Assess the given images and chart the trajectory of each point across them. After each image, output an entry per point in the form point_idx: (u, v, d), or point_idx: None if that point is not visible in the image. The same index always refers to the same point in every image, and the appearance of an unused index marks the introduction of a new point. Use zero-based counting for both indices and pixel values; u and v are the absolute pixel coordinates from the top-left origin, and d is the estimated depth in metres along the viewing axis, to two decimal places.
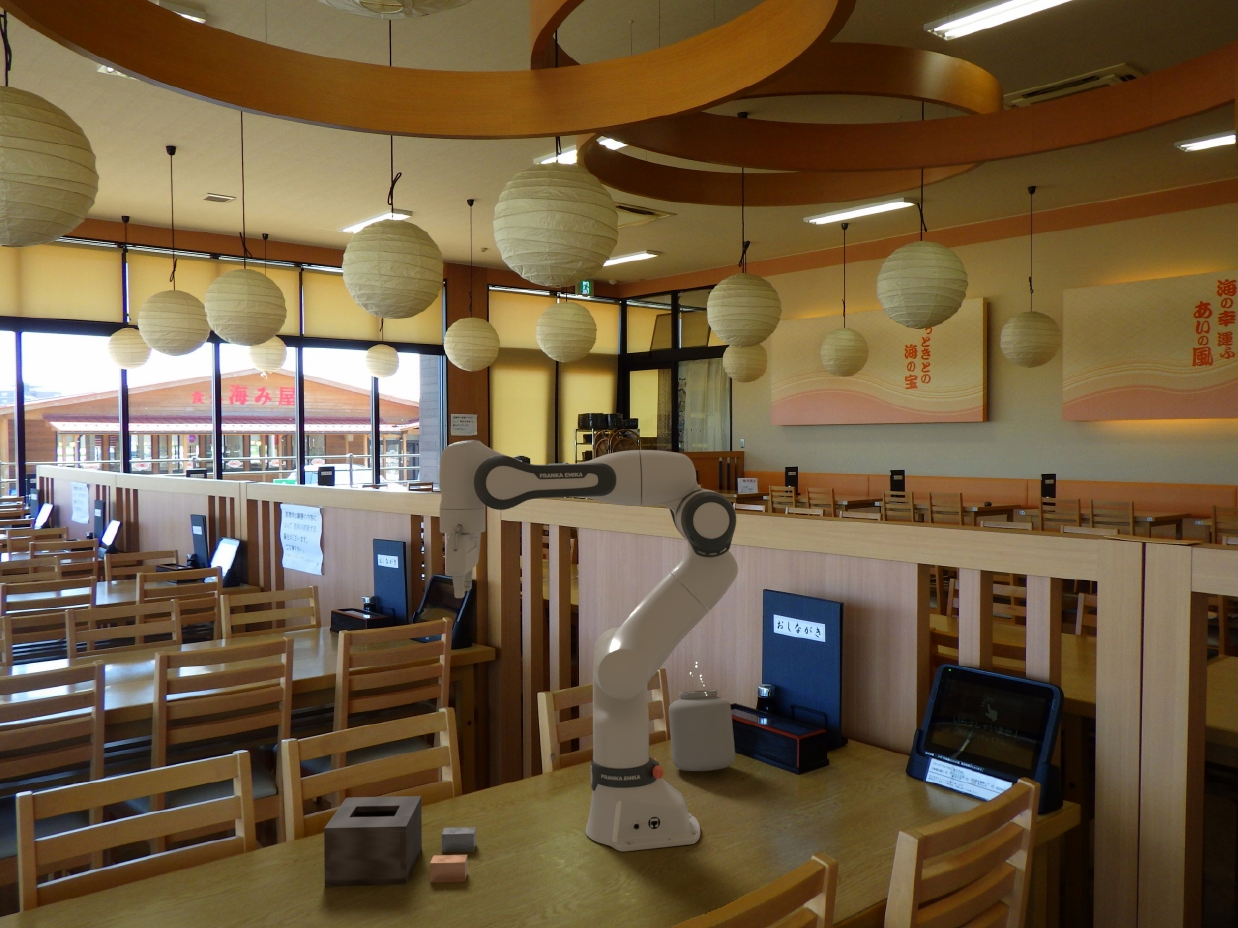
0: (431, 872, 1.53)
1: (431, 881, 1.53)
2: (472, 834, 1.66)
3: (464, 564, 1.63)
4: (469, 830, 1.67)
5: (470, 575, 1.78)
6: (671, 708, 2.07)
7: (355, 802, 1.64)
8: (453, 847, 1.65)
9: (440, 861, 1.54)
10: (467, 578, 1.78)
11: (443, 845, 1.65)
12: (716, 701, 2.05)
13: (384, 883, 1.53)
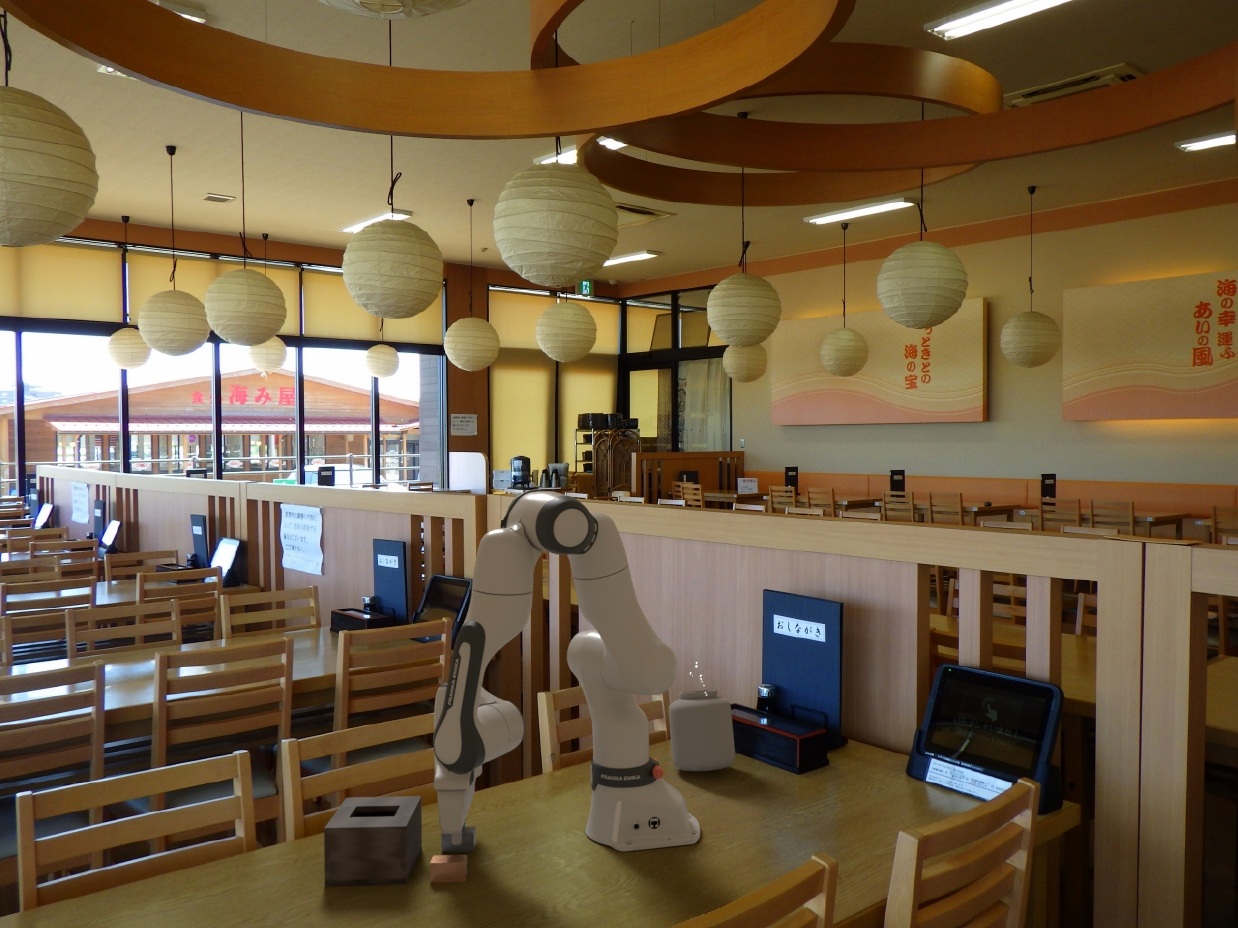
0: (431, 872, 1.53)
1: (431, 881, 1.53)
2: (472, 833, 1.66)
3: None
4: (469, 829, 1.67)
5: None
6: (671, 708, 2.07)
7: (355, 802, 1.64)
8: (452, 846, 1.65)
9: (440, 861, 1.54)
10: None
11: (443, 844, 1.65)
12: (716, 701, 2.05)
13: (384, 883, 1.53)
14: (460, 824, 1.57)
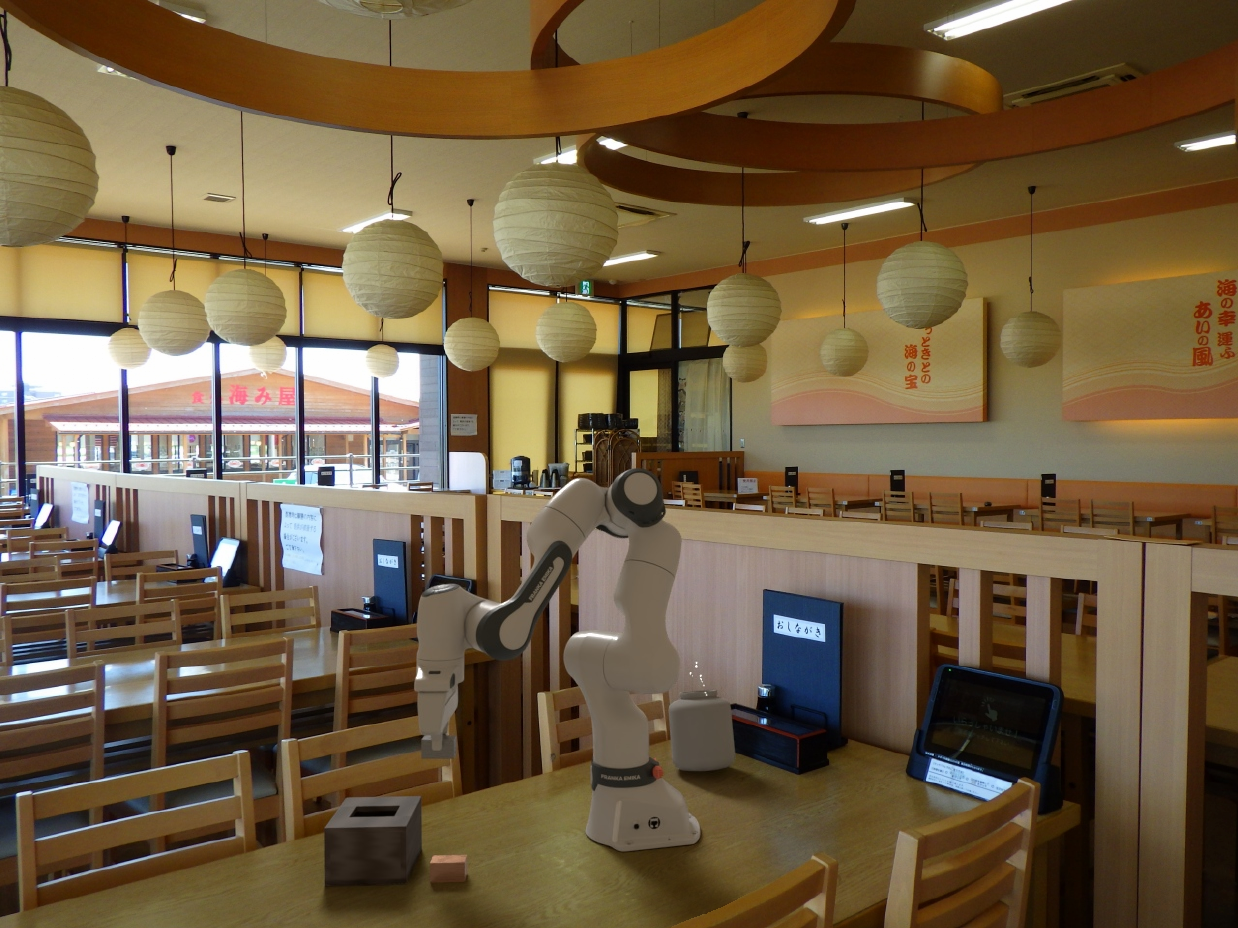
0: (431, 872, 1.53)
1: (431, 881, 1.53)
2: (452, 740, 1.64)
3: None
4: (449, 737, 1.66)
5: None
6: (671, 708, 2.07)
7: (355, 802, 1.64)
8: (432, 753, 1.64)
9: (440, 861, 1.54)
10: None
11: (423, 751, 1.64)
12: (716, 701, 2.05)
13: (384, 883, 1.53)
14: (439, 725, 1.56)
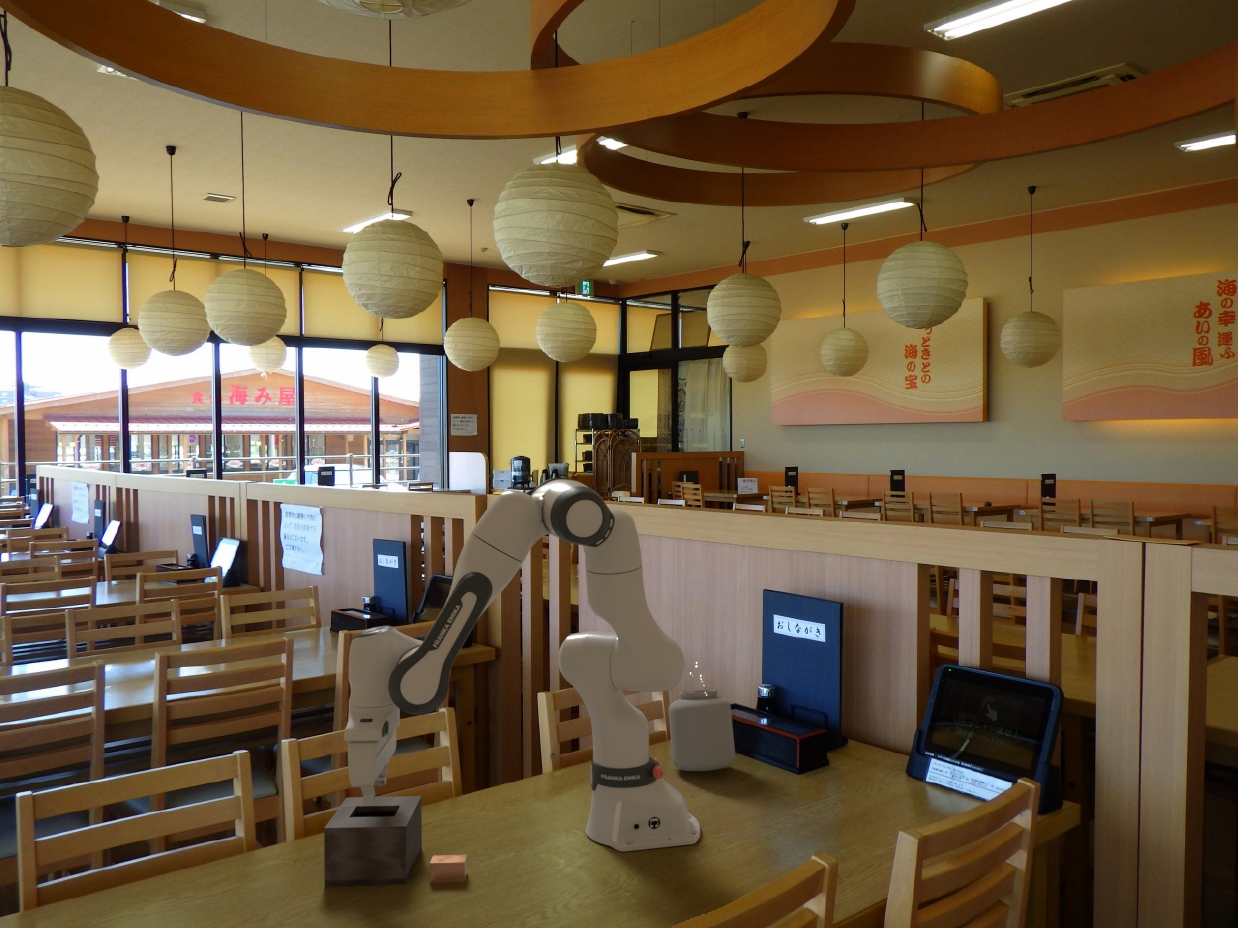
0: (431, 872, 1.53)
1: (431, 881, 1.53)
2: None
3: None
4: None
5: None
6: (671, 708, 2.07)
7: (355, 802, 1.64)
8: None
9: (440, 861, 1.54)
10: None
11: None
12: (716, 701, 2.05)
13: (384, 883, 1.53)
14: (371, 777, 1.50)
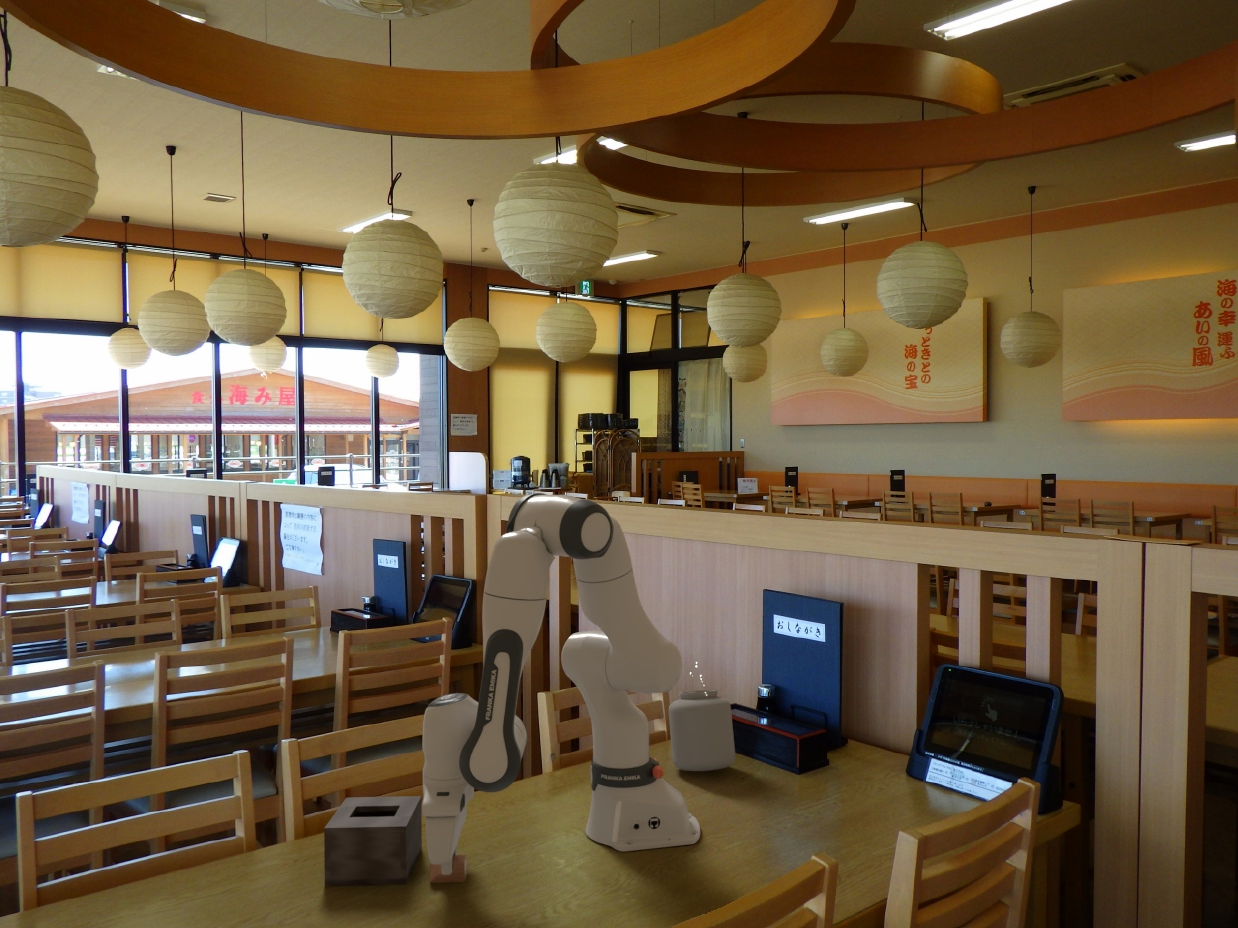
0: (430, 872, 1.53)
1: (430, 881, 1.53)
2: None
3: None
4: None
5: None
6: (671, 708, 2.07)
7: (355, 802, 1.64)
8: None
9: None
10: None
11: None
12: (716, 701, 2.05)
13: (384, 883, 1.53)
14: (450, 854, 1.45)
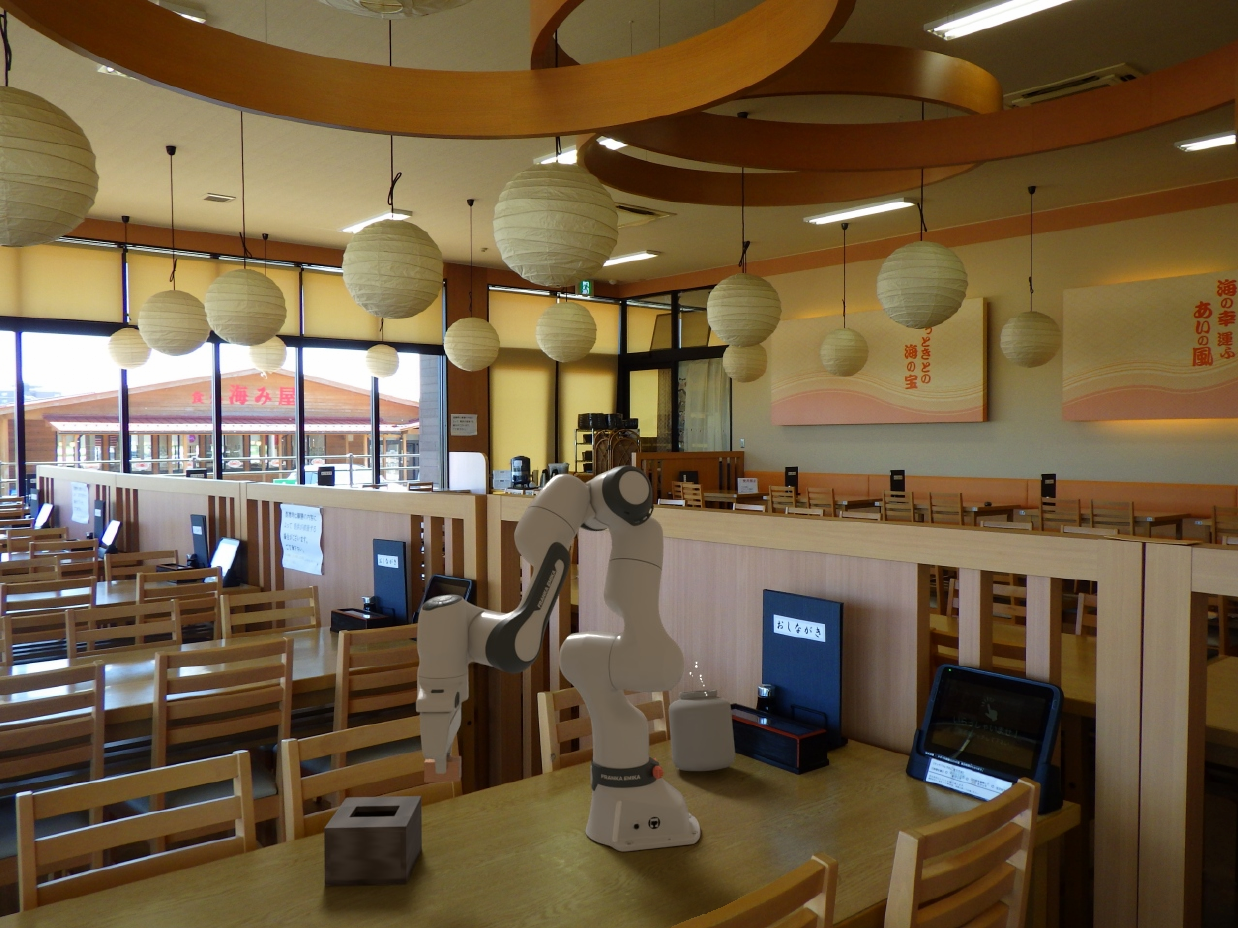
0: (425, 771, 1.54)
1: (425, 780, 1.54)
2: None
3: None
4: None
5: None
6: (671, 708, 2.07)
7: (355, 802, 1.64)
8: None
9: (434, 761, 1.54)
10: None
11: None
12: (716, 701, 2.05)
13: (384, 883, 1.53)
14: (444, 748, 1.45)
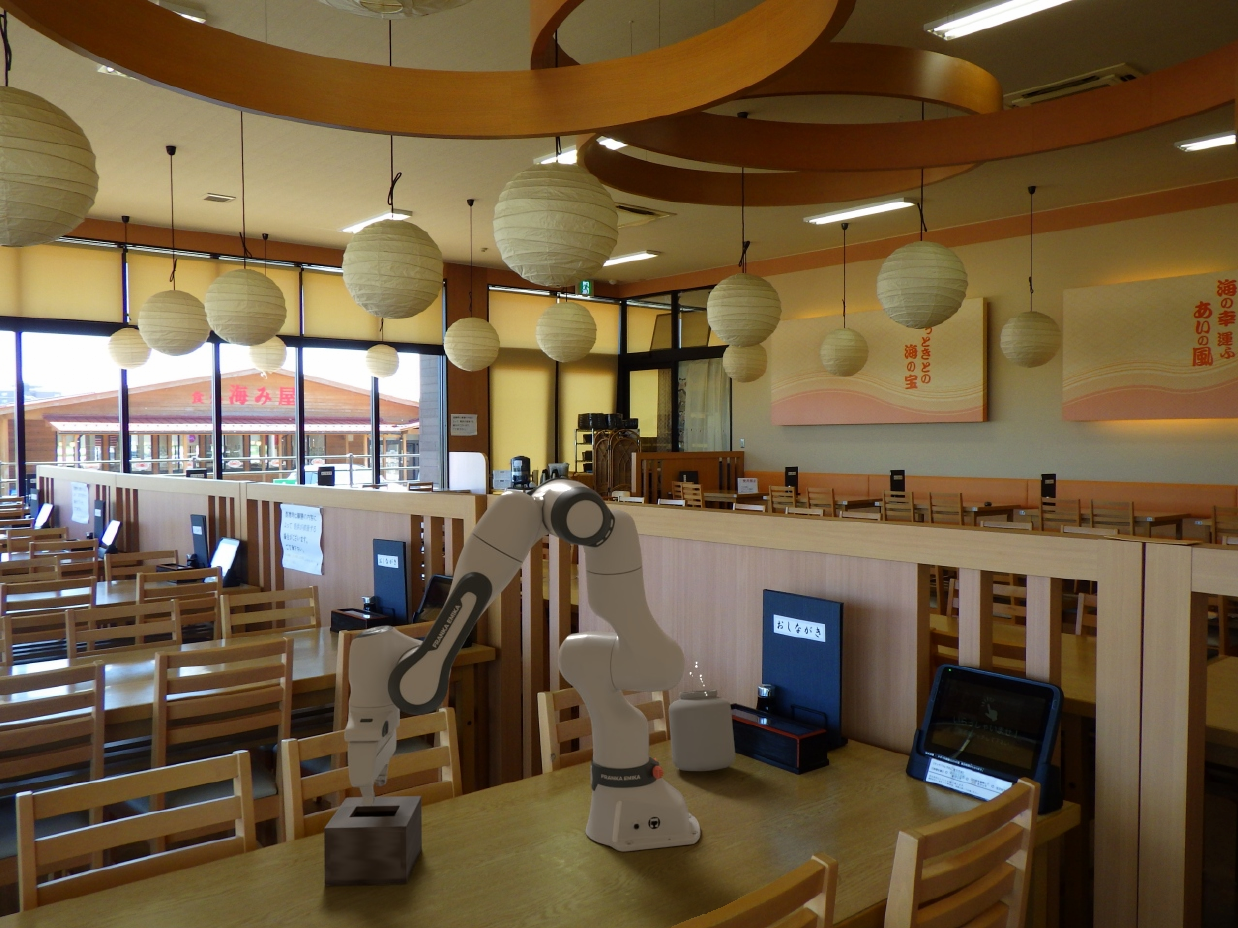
0: None
1: None
2: None
3: None
4: None
5: None
6: (671, 708, 2.07)
7: (355, 802, 1.64)
8: None
9: None
10: None
11: None
12: (716, 701, 2.05)
13: (384, 883, 1.53)
14: (371, 777, 1.50)
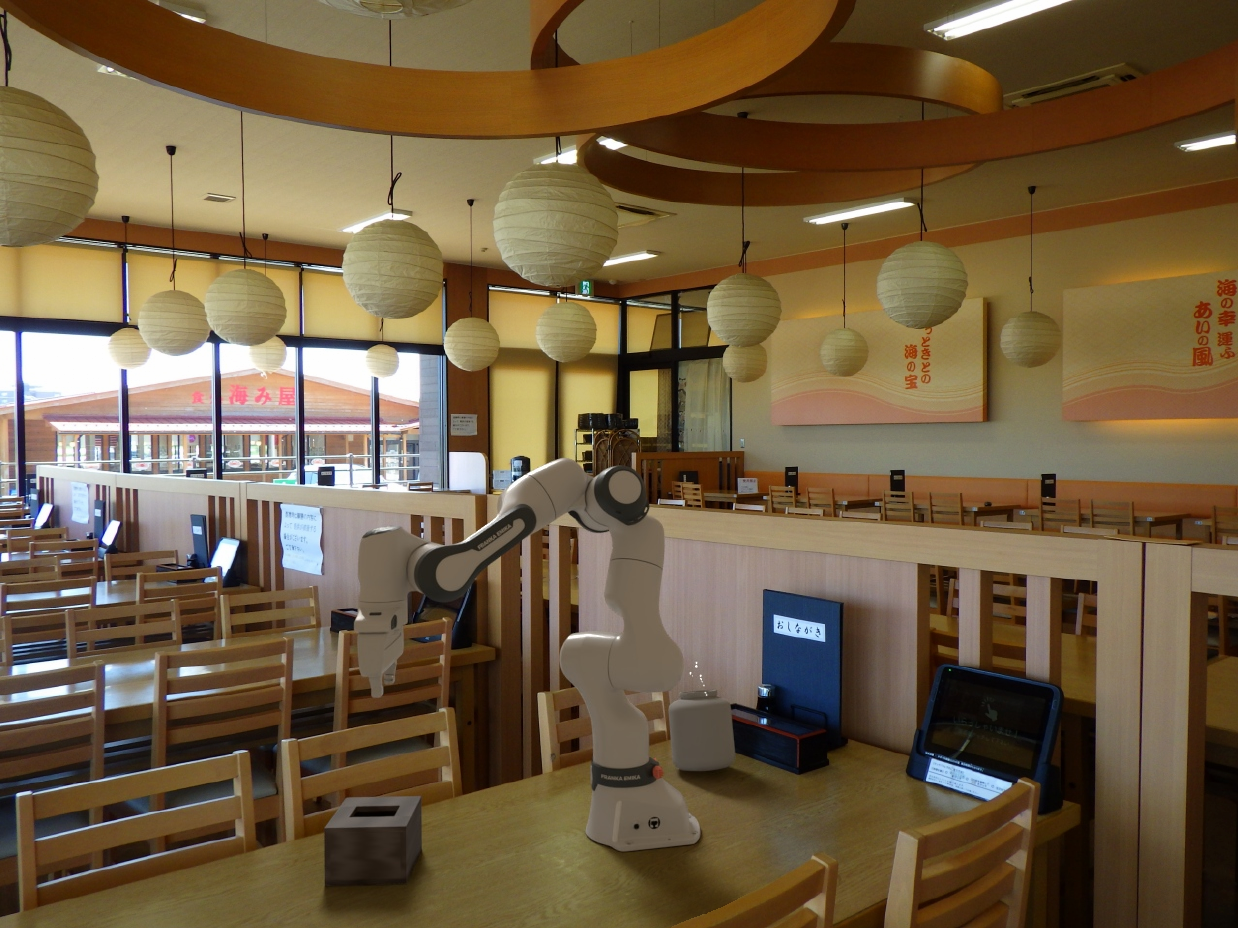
0: None
1: None
2: None
3: None
4: None
5: None
6: (671, 708, 2.07)
7: (355, 802, 1.64)
8: None
9: None
10: None
11: None
12: (716, 701, 2.05)
13: (384, 883, 1.53)
14: (380, 666, 1.53)
